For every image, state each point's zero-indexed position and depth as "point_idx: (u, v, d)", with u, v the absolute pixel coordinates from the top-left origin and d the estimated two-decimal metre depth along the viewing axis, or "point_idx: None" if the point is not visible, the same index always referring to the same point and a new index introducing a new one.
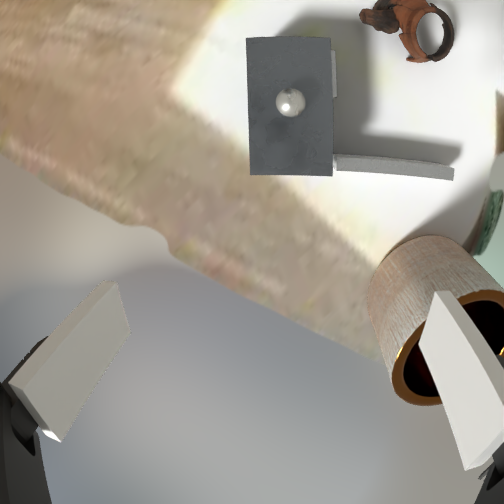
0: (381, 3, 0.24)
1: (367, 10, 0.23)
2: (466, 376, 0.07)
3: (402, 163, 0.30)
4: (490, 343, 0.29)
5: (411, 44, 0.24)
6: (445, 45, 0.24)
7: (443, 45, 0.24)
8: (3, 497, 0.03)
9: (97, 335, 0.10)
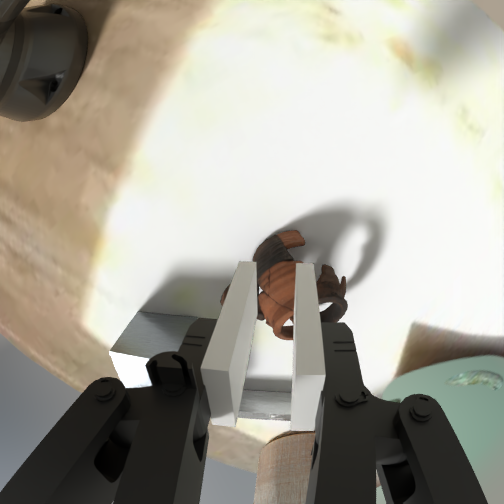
0: (256, 266, 0.29)
1: None
2: (295, 336, 0.10)
3: (268, 414, 0.36)
4: None
5: None
6: (333, 315, 0.29)
7: (332, 312, 0.29)
8: None
9: (250, 313, 0.12)
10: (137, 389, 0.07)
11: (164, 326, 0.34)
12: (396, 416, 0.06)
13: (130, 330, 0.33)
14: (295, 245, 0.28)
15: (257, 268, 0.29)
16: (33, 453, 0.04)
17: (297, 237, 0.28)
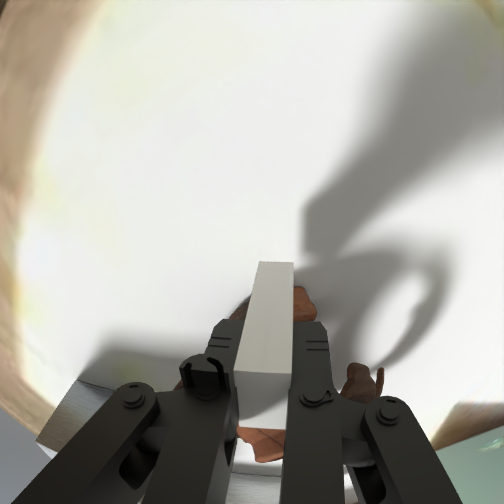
0: None
1: None
2: None
3: None
4: None
5: None
6: None
7: None
8: None
9: None
10: (166, 393, 0.07)
11: None
12: (362, 419, 0.06)
13: (62, 411, 0.19)
14: None
15: None
16: (54, 458, 0.05)
17: (301, 306, 0.15)
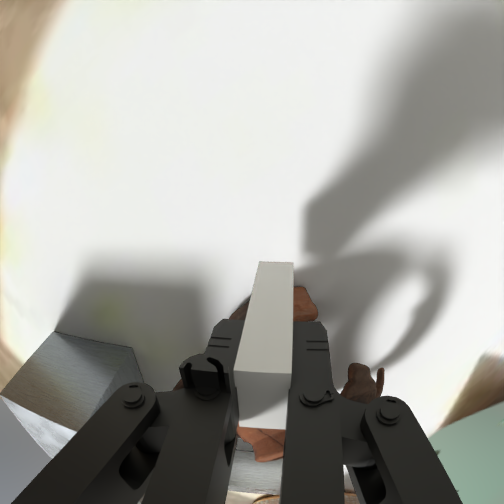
0: None
1: None
2: None
3: (251, 488, 0.20)
4: None
5: None
6: None
7: None
8: None
9: None
10: (166, 393, 0.07)
11: (79, 360, 0.18)
12: (363, 419, 0.06)
13: (33, 362, 0.17)
14: None
15: None
16: (54, 458, 0.05)
17: (303, 306, 0.15)
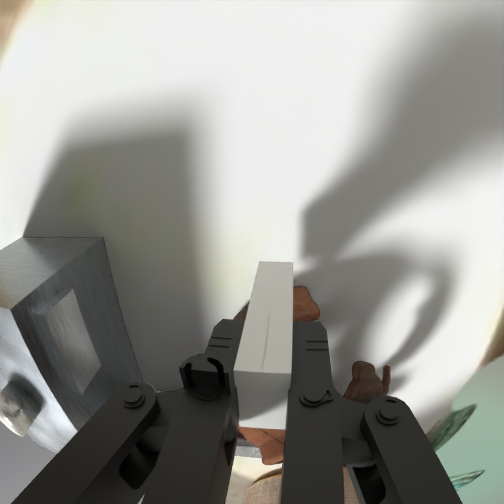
0: None
1: None
2: None
3: (250, 448, 0.17)
4: None
5: None
6: None
7: None
8: None
9: None
10: (166, 393, 0.07)
11: (40, 251, 0.15)
12: (362, 419, 0.06)
13: None
14: None
15: None
16: (54, 458, 0.05)
17: (304, 306, 0.15)
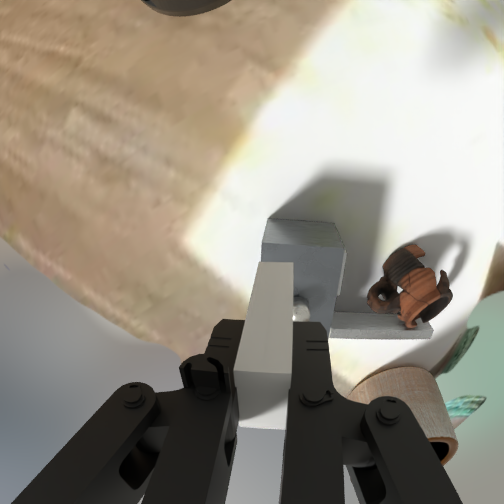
0: (392, 272, 0.35)
1: (375, 302, 0.33)
2: None
3: (387, 331, 0.36)
4: (436, 451, 0.35)
5: None
6: (439, 307, 0.34)
7: (438, 305, 0.35)
8: None
9: None
10: (165, 393, 0.07)
11: (307, 227, 0.34)
12: (362, 419, 0.06)
13: (272, 229, 0.33)
14: (420, 256, 0.34)
15: (395, 273, 0.34)
16: (54, 459, 0.05)
17: (420, 250, 0.34)
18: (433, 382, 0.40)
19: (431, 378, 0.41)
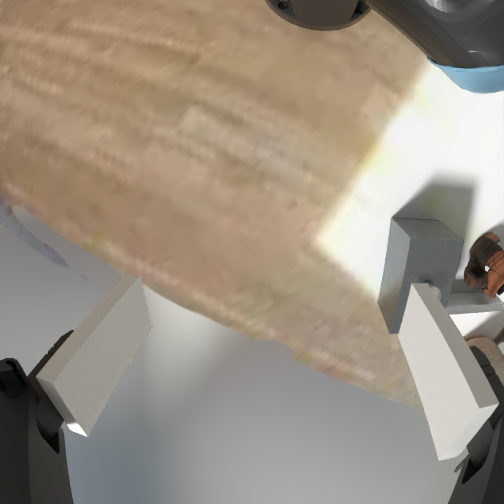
0: (480, 255, 0.37)
1: (472, 279, 0.36)
2: (439, 366, 0.08)
3: (474, 306, 0.39)
4: None
5: (489, 295, 0.37)
6: None
7: None
8: (24, 497, 0.03)
9: (122, 328, 0.11)
10: None
11: (425, 224, 0.37)
12: None
13: (405, 227, 0.36)
14: (497, 241, 0.36)
15: (482, 256, 0.37)
16: None
17: (496, 237, 0.37)
18: None
19: None
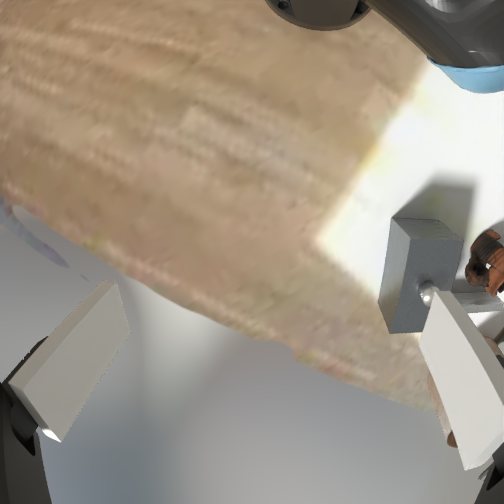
0: (481, 252, 0.37)
1: (473, 277, 0.36)
2: (466, 376, 0.07)
3: (474, 306, 0.39)
4: None
5: (490, 293, 0.37)
6: None
7: None
8: (3, 497, 0.03)
9: (97, 335, 0.10)
10: None
11: (425, 224, 0.37)
12: None
13: (405, 227, 0.36)
14: (497, 238, 0.36)
15: (483, 253, 0.37)
16: None
17: (497, 234, 0.36)
18: None
19: None
